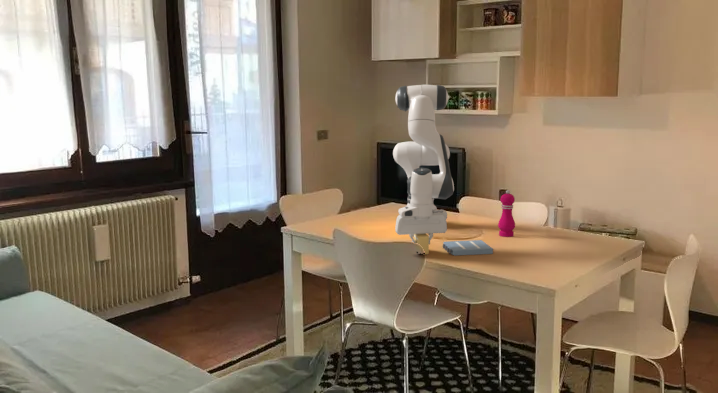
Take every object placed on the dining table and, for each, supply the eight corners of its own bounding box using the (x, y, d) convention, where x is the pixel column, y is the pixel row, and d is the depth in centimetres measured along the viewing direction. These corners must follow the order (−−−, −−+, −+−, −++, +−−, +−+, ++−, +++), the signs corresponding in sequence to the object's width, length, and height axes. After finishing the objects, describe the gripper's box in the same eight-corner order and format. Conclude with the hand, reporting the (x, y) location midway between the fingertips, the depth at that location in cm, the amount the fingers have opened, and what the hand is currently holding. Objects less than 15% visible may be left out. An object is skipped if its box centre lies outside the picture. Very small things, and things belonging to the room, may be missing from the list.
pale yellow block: (413, 249, 265) (413, 232, 264) (423, 248, 266) (423, 231, 265) (418, 254, 257) (418, 237, 256) (428, 254, 258) (428, 236, 257)
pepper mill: (494, 234, 290) (496, 189, 287) (508, 232, 293) (510, 188, 289) (503, 237, 284) (505, 191, 280) (518, 236, 286) (519, 190, 282)
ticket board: (441, 246, 270) (441, 241, 270) (481, 244, 272) (481, 239, 272) (451, 255, 256) (451, 250, 256) (492, 253, 259) (492, 248, 258)
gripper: (445, 207, 263) (444, 241, 266) (394, 209, 260) (394, 243, 263) (449, 210, 257) (448, 245, 260) (397, 212, 254) (397, 247, 257)
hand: (421, 244), depth 261 cm, fingers closed on pale yellow block, 4 cm apart
